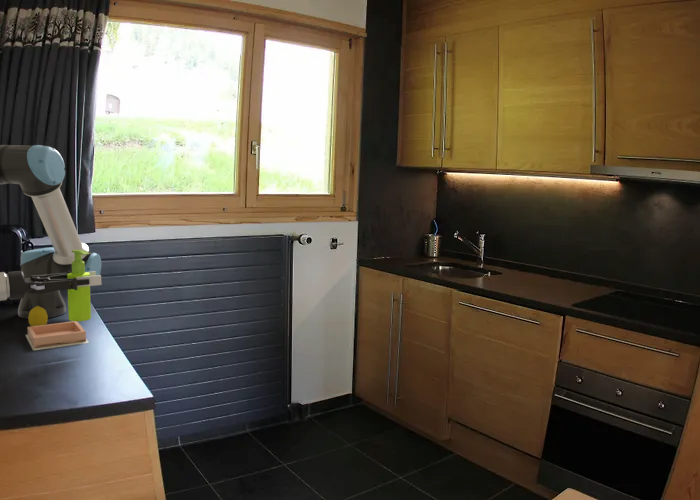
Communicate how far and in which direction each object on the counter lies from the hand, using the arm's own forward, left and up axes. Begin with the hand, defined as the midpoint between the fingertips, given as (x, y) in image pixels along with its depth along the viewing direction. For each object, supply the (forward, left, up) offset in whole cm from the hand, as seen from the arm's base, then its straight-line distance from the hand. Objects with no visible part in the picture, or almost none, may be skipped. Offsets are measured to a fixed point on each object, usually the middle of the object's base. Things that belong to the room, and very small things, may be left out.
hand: (98, 278), depth 180 cm
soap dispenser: (0, -5, -12) cm, 13 cm away
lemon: (-29, -13, -21) cm, 38 cm away
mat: (-14, -10, -21) cm, 27 cm away
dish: (-14, -10, -20) cm, 26 cm away
